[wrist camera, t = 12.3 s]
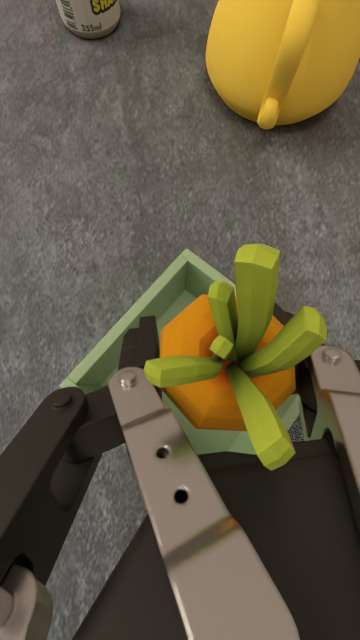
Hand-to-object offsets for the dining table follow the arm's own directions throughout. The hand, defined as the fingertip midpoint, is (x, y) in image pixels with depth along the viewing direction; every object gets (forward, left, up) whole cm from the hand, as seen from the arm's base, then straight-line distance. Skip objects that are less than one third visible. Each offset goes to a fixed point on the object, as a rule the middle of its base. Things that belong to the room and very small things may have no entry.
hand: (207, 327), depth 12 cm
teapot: (+26, +28, -13) cm, 41 cm away
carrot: (-1, -2, -7) cm, 8 cm away
